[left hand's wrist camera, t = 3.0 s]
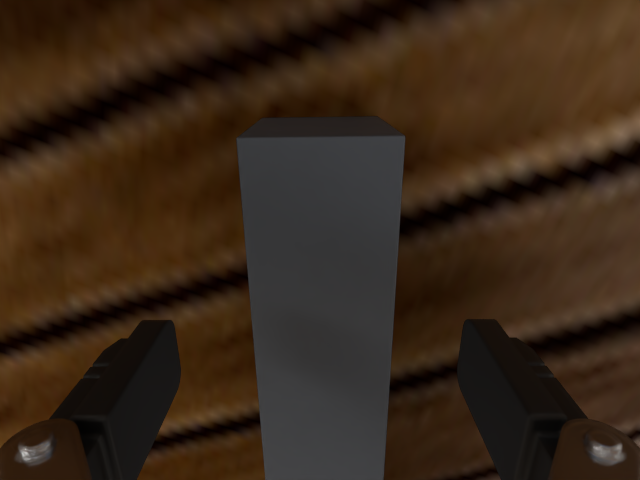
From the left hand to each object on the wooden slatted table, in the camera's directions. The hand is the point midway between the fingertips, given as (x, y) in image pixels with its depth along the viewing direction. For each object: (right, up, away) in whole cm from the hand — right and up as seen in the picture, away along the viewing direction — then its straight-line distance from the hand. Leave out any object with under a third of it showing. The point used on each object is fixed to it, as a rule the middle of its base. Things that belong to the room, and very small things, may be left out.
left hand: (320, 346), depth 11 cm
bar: (0, -24, +18) cm, 30 cm away
